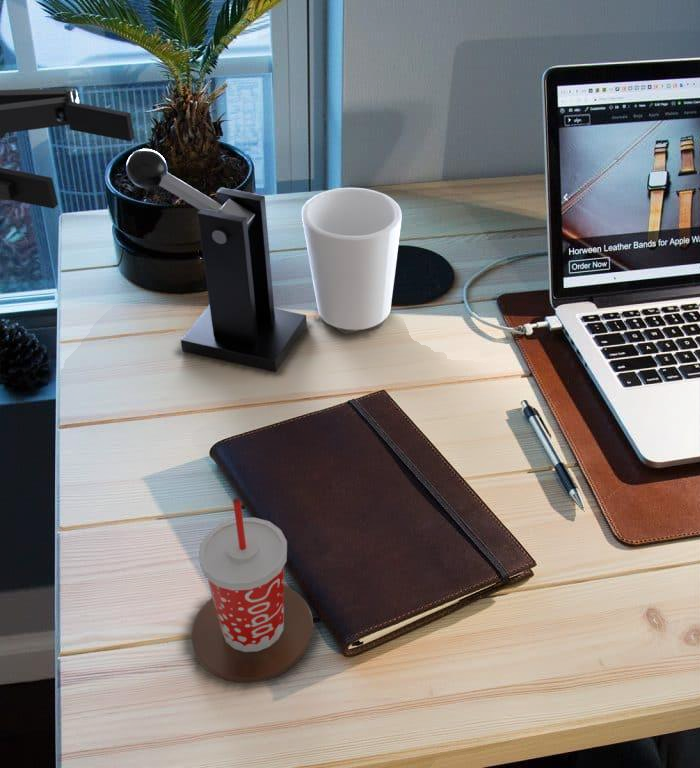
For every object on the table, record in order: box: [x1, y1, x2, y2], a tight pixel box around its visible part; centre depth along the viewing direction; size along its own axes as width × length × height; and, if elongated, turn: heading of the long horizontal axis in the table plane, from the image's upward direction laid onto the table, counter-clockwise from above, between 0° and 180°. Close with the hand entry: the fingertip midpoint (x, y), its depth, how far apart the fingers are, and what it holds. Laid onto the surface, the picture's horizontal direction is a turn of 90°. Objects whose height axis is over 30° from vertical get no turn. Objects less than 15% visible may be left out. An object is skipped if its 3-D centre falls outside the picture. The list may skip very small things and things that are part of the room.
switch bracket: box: [180, 187, 308, 373], centre depth 102 cm, size 10×8×16 cm
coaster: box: [191, 585, 314, 684], centre depth 80 cm, size 9×9×1 cm
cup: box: [300, 187, 403, 335], centre depth 107 cm, size 10×10×13 cm
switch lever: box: [125, 148, 255, 229], centre depth 97 cm, size 12×4×4 cm, turn 77°
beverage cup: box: [197, 497, 288, 652], centre depth 75 cm, size 6×6×14 cm
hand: (94, 158), depth 97 cm, fingers open, 13 cm apart
